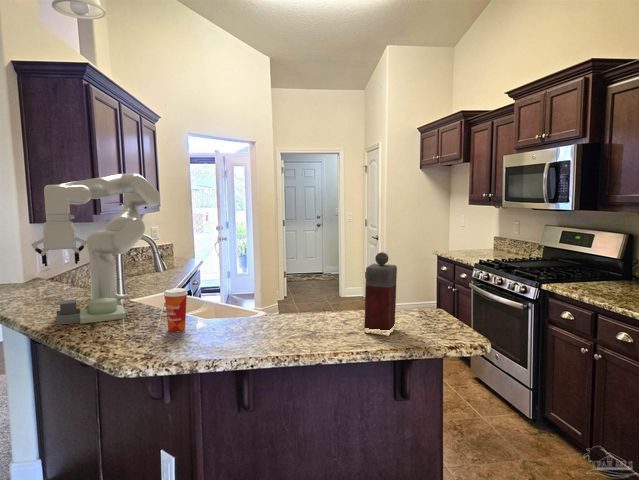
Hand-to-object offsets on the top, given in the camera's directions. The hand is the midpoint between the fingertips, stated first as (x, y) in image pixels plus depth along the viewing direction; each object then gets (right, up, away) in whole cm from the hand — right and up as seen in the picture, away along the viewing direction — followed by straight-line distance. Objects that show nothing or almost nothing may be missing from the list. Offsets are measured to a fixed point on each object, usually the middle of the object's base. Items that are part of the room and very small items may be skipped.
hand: (61, 264), depth 154 cm
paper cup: (+46, -22, -10) cm, 53 cm away
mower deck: (+10, -20, +3) cm, 23 cm away
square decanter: (+118, -23, -7) cm, 120 cm away
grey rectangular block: (+3, -21, -1) cm, 21 cm away
